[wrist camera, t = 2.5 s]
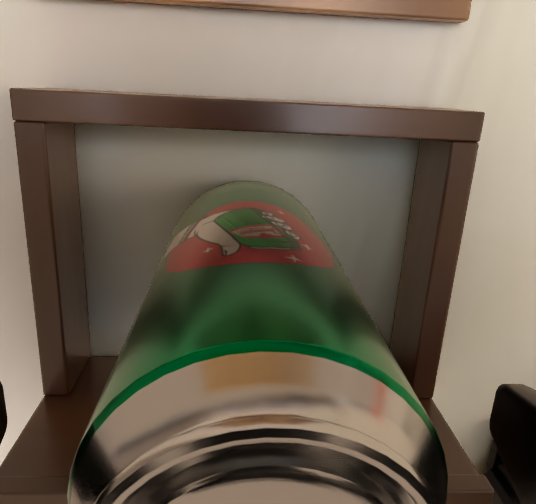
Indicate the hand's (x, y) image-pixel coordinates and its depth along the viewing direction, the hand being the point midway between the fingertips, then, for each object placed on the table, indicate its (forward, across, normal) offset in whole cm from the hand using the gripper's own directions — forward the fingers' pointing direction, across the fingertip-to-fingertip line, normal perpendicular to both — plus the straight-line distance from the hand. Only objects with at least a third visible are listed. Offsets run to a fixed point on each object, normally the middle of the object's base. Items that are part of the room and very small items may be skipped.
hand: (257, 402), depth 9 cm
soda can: (+9, 0, 0) cm, 9 cm away
